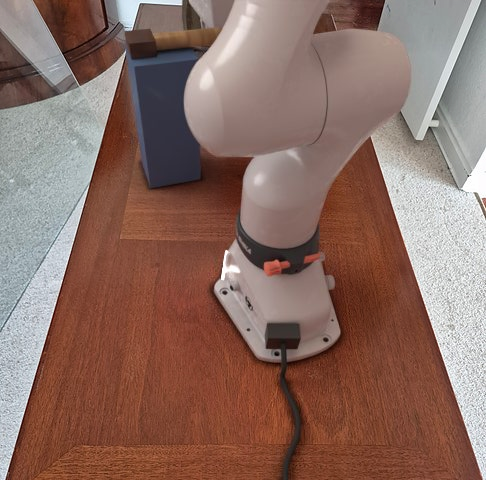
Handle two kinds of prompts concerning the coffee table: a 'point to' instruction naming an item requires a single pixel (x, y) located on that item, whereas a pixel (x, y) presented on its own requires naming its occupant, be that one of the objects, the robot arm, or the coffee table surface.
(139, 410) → the coffee table surface
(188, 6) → the tabletop clock
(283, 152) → the robot arm
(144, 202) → the coffee table surface
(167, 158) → the pedestal
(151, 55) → the wooden mallet
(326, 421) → the coffee table surface
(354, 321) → the coffee table surface
